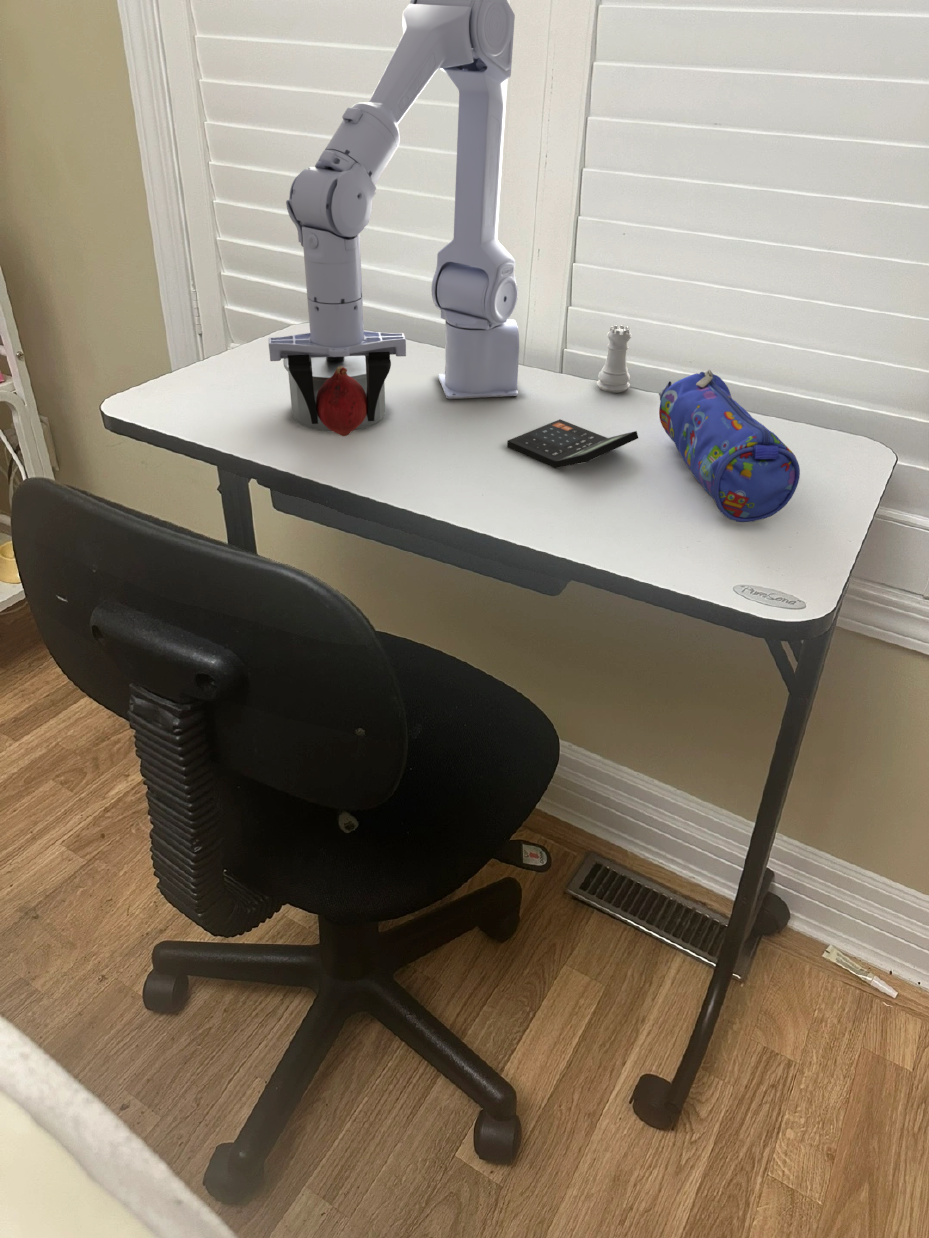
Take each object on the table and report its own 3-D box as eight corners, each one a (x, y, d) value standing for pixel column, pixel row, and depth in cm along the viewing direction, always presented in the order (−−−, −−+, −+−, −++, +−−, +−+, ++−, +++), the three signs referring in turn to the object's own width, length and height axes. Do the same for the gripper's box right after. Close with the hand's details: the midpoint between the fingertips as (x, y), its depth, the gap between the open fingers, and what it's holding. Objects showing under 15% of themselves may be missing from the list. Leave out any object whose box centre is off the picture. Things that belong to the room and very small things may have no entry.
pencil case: (649, 439, 108) (661, 361, 102) (719, 437, 109) (734, 359, 103) (710, 530, 90) (728, 442, 85) (792, 527, 91) (816, 439, 85)
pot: (380, 394, 118) (378, 345, 114) (389, 429, 109) (387, 378, 105) (291, 397, 116) (287, 348, 112) (293, 434, 107) (288, 382, 103)
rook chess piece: (635, 385, 122) (643, 326, 117) (621, 396, 119) (628, 335, 114) (605, 378, 124) (611, 320, 119) (590, 388, 121) (597, 329, 116)
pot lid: (382, 348, 115) (381, 314, 112) (392, 384, 105) (391, 348, 102) (283, 352, 113) (280, 317, 110) (284, 388, 103) (280, 351, 101)
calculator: (559, 425, 111) (561, 402, 109) (635, 456, 104) (639, 432, 102) (507, 447, 105) (508, 423, 103) (584, 481, 99) (587, 456, 97)
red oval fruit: (360, 449, 100) (357, 379, 96) (311, 443, 101) (305, 374, 96) (375, 428, 105) (372, 361, 100) (327, 423, 106) (323, 356, 101)
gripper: (263, 309, 90) (277, 436, 98) (408, 305, 92) (410, 430, 100) (264, 289, 95) (277, 411, 103) (400, 286, 97) (403, 405, 105)
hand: (342, 419), depth 102 cm, fingers closed on red oval fruit, 6 cm apart
